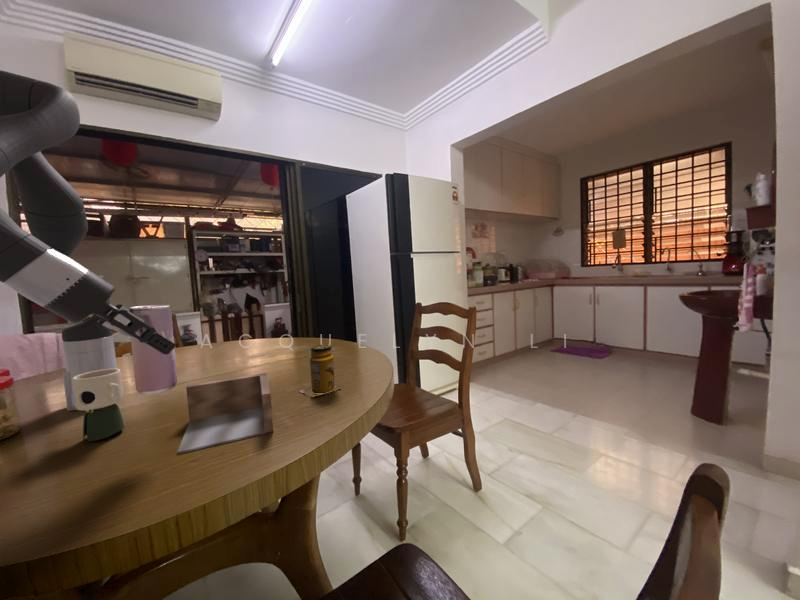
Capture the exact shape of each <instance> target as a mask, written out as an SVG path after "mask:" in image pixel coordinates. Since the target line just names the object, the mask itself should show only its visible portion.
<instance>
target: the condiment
mask: <svg viewBox="0 0 800 600" xmlns="http://www.w3.org/2000/svg"><path fill="white" fill-rule="evenodd" d="M309 365H310V381H311V383H310V384H311V386H310V387H309V388H306V389H302V390H299V392H300V393H301V394H303V393H304V392H306V391H307V390H308V389H311V388H312V391H313V392H314V393H326V392H329V391H331V390H333V389H334V387H336V386H335V385H336V384H335V383H336V382H335V370H334V369H335V368H334V366H335V365H334V356H333V354H332V347H331V345H329V344H317V345H313V346H311V348H310V359H309Z"/></svg>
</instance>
